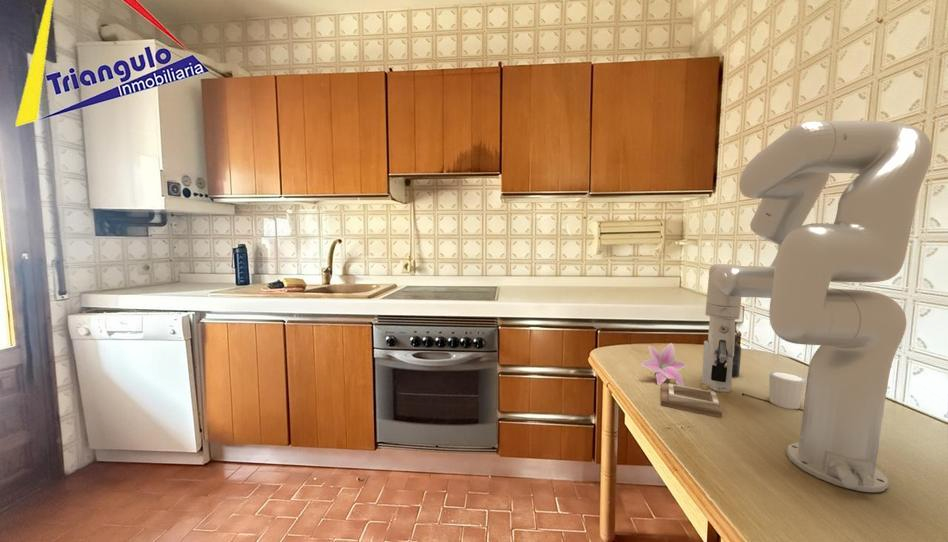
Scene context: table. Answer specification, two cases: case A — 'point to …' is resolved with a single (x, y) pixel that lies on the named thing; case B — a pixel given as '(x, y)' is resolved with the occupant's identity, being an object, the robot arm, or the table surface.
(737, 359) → the supplement bottle
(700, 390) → the square wooden tray
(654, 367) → the lily
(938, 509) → the table surface
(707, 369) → the skincare box
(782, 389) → the white cylinder
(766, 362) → the table surface
